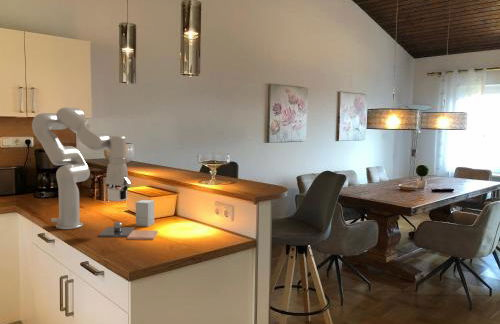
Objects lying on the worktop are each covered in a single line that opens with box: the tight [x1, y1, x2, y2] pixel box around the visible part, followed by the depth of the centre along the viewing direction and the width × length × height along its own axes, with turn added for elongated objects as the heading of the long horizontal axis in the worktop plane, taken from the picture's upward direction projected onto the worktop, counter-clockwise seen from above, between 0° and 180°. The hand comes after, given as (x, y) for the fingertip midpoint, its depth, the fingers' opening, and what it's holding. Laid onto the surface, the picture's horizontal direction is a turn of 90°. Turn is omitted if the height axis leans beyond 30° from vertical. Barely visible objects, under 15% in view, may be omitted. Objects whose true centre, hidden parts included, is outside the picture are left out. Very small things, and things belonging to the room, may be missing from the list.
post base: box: [98, 221, 136, 238], centre depth 203 cm, size 14×14×5 cm
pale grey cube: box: [107, 186, 128, 202], centre depth 202 cm, size 6×6×6 cm
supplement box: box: [135, 199, 155, 227], centre depth 220 cm, size 7×7×13 cm
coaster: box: [126, 230, 158, 241], centre depth 199 cm, size 12×12×1 cm
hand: (117, 197), depth 202 cm, fingers closed on pale grey cube, 6 cm apart
